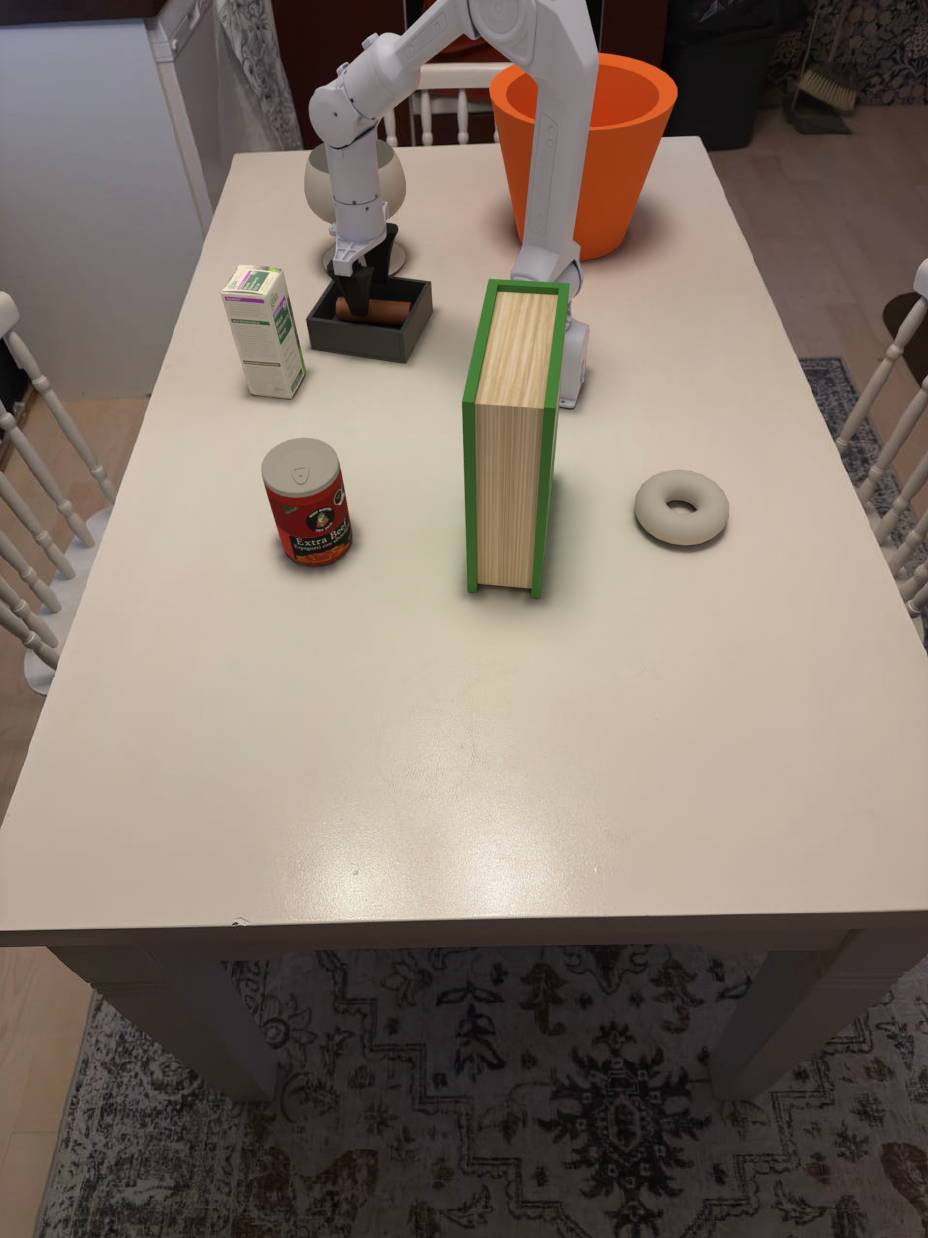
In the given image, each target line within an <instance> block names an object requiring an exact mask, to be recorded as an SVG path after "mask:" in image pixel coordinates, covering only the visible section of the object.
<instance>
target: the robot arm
mask: <svg viewBox="0 0 928 1238" xmlns="http://www.w3.org/2000/svg"><path fill="white" fill-rule="evenodd" d="M592 26H593V25H592V22H591V18H590V14H589V10H588V5H587V1H586V0H436V1H434V3H433V4H432V5H431V6H430V7H429V8H428V9H427V10H426V11H425V12H424V13H423V14H422V15H421V16H420V17H418V19H417V20H416V21H414V23H413V24H412V25H411V26H410V27H409V28H408V29H407V30H406V31H405V32H403V34H402V35H399V34H397V33H394V32H384V33H382V34H380V35H378V33H377V32H374V33H373V34H371V35H370V36H368V37H367V38H366V39H364V41H362V43H361V46H362V48H363V51H362V52H361V53H360V54H359V55H358V56H357V57H356V58H354V59H353V61H352V62H350V63H349V62H348V61H346V62H344V63H342V64H341V65H340V66H339V67H338V68H337V69H336V74H337V78H335V79H334V80H332V81H330V82H329V83H327V84H325V85H322V86H319V87H317V88H316V89H315V90H314V92H313V95H312V96H311V98H310V100H309V103H308V116H309V121H310V123H311V126H312V128H313V130H314V132H315V134H316V135H317V137H319V139H320V140H321V141H322V142H323V143H325V149H326V156H327V163H328V169H329V176H330V183H331V189H332V196H333V202H334V209H335V216H336V222H335V223H333V224H330V226H329V228H328V233H329V235H330V236H331V237H335V245H336V253H335V256H334V258H333V259H331V261H330V262H329V264H328V265H327V270H326V273H327V276H328V277H329V278H330V279H331V280H333V281H334V282H335V283H336V284H337V286H338V287H339V289H340V290H341V292H342V294H343V296H344V298H345V300H346V303H347V305H348V307H349V310H350V312H351V314H352V315H355V316H362V317H367V315H368V312H369V287H370V281H371V283H377V284H385V285H386V283H387V280H388V275H389V266H390V258H391V252H392V247H393V244H394V243H395V240H396V238H397V235H398V232H399V225H397V224H396V223H393V222H387V219H388V218H389V210H388V202H382V200H381V190H380V181H379V171H378V162H377V151H376V140H378V139H379V137H378V127H379V124H380V122H381V121H382V119H383V118H384V117H385V116H386V115H388V114H389V112H391V111H392V110H393V109H395V107H397V106H398V105H399V104H401V103H402V102H403V101H404V100H405V99H407V98H408V97H409V96H411V95H412V94H413V93H415V92H416V90H417V89H418V87H419V86H420V82H421V76H422V75H421V73H422V72H421V67H423V66H424V65H425V64H427V62H428V61H430V60H431V59H433V58H434V57H435V56H436V55H438V54H439V53H440V52H441V51H443V50H444V49H445V48H447V47H448V46H449V45H451V44H452V43H453V42H455V41H456V40H457V39H458V38H460V37H461V36H462V35H463V34H464V35H466V37H468V38H469V39H470V40H472V41H477V40H478V39H479V38H481V37H482V38H483V39H484V40H485V42H487V43H488V44H489V45H490V46H491V47H493V48H494V49H495V50H496V51H498V52H499V53H500V54H502V56H504V57H505V58H507V59H508V60H509V61H510V62H512V63H513V64H516V65H517V66H518V67H519V68H521V69H522V70H523V71H525V72H526V73H527V74H528V75H530V76H531V77H532V78H533V79H534V81H535V82H536V83H537V85H538V96H537V106H536V116H535V126H534V136H533V146H532V156H531V166H530V176H529V186H528V196H527V206H526V216H525V226H524V236H523V244H522V245H521V247H520V250H519V252H518V255H517V257H516V258H515V261H514V264H513V266H512V268H511V271H510V276H509V280H520V281H537V282H555V283H570V287H569V299H568V310H567V322H566V333H565V345H564V357H563V368H562V380H561V392H560V403H559V408H560V407H561V408H567V409H573V408H575V406H576V405H577V400H578V398H579V394H580V391H581V388H582V384H583V383H584V382H585V378H586V372H587V367H586V364H587V356H588V355H587V354H588V345H589V336H590V324H588V323H585V322H582V321H579V320H577V319H576V318H574V317H573V316H572V314H573V312H572V300H573V299H574V298H575V297H576V296H577V295H578V294H579V293H580V292H581V290H582V287H583V284H584V273H583V269H582V266H581V261H579V254H580V245H579V244H577V243H576V242H575V241H574V240H573V233H574V227H575V220H576V213H577V207H578V200H579V193H580V187H581V180H582V174H583V167H584V160H585V154H586V147H587V140H588V134H589V127H590V120H591V114H592V107H593V101H594V94H595V87H596V81H597V74H598V67H599V56H598V53H599V51H598V47H597V43H596V38H595V34H594V30H593V27H592ZM389 219H390V218H389ZM389 219H388V220H389ZM363 255H364V258H365V262H366V266H367V267H366V266H362V265H361V263H359V260H358V258H360V257H361V256H363ZM389 276H390V275H389Z"/></svg>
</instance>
